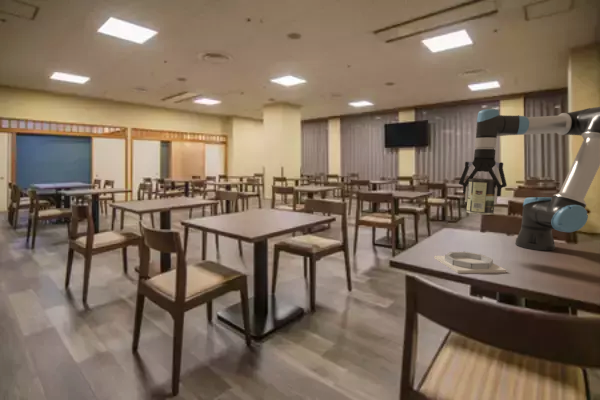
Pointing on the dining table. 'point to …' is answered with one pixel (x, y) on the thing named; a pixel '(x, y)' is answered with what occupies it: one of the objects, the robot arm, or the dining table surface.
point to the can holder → (469, 263)
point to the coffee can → (481, 196)
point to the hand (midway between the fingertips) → (480, 202)
